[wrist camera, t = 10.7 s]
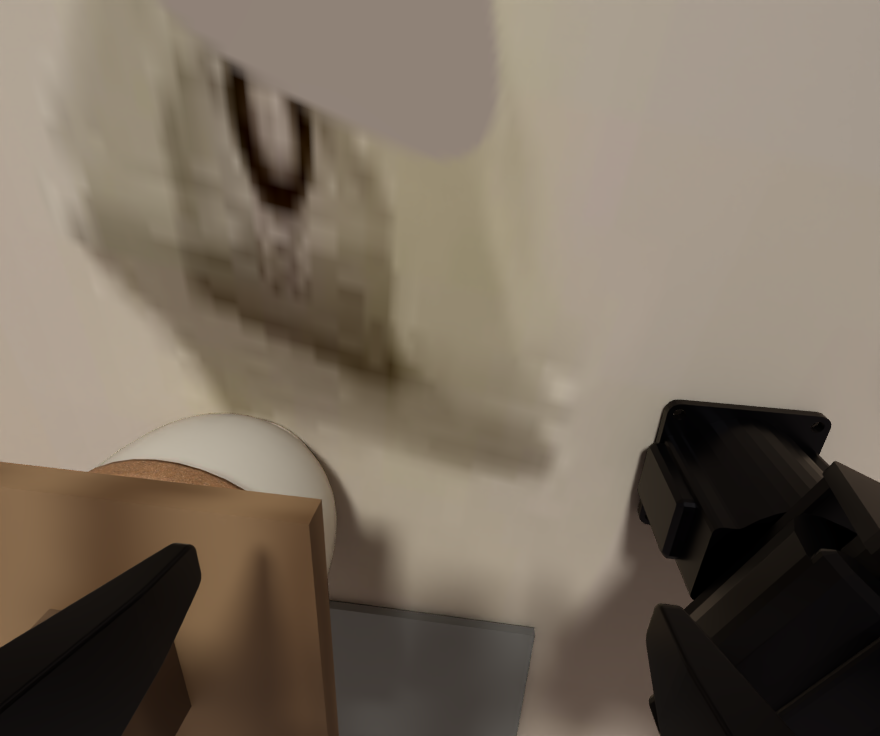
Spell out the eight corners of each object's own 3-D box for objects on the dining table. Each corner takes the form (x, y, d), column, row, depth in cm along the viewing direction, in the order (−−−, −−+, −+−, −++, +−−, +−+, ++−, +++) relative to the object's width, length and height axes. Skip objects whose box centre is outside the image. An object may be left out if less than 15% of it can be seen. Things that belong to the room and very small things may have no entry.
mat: (534, 627, 28) (534, 635, 28) (507, 776, 34) (507, 784, 34) (198, 583, 30) (193, 590, 29) (231, 731, 36) (228, 739, 36)
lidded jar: (222, 560, 29) (104, 735, 20) (124, 402, 25) (-73, 537, 16) (393, 532, 26) (340, 717, 18) (314, 352, 22) (199, 480, 14)
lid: (322, 499, 14) (244, 650, 10) (341, 773, 19) (298, 941, 15) (-115, 448, 15) (-345, 563, 11) (25, 720, 21) (-93, 862, 17)
